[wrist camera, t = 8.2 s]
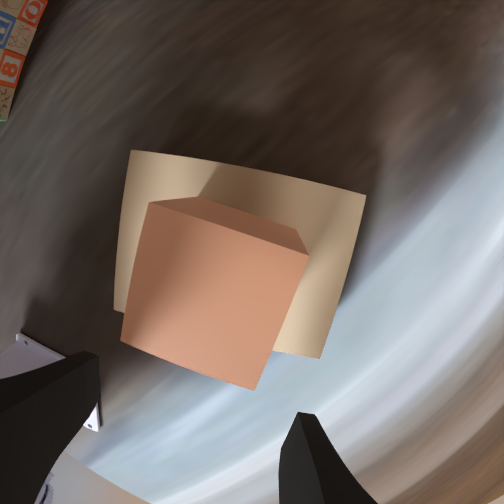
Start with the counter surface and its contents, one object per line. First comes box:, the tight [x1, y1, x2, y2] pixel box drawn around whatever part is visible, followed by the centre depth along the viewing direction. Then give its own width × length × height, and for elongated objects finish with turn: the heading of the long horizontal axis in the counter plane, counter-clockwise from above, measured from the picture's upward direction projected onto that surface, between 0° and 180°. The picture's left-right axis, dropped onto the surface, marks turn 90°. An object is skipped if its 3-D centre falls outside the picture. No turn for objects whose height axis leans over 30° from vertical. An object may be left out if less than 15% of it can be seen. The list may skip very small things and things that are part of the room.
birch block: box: [114, 150, 366, 359], centre depth 17 cm, size 12×9×4 cm
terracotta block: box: [120, 197, 309, 390], centre depth 12 cm, size 5×5×6 cm
